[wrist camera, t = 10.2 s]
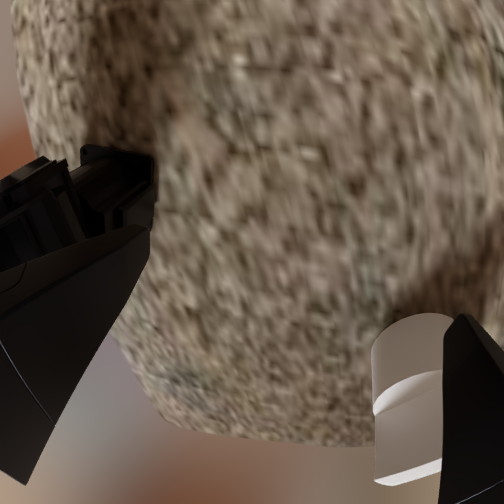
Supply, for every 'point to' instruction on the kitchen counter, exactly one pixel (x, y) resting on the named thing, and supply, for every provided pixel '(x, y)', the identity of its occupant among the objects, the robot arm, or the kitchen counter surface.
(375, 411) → the cylinder with rectangular tab
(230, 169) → the kitchen counter surface
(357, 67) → the kitchen counter surface
